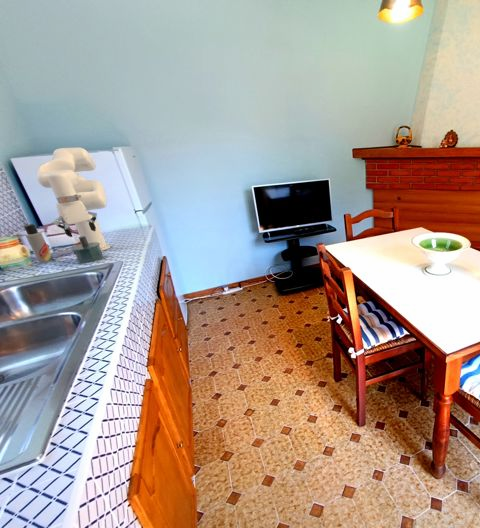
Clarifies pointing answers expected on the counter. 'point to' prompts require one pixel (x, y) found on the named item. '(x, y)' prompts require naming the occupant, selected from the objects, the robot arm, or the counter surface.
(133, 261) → the counter surface
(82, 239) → the lid
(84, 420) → the counter surface
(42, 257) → the lotion bottle
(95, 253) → the pot
